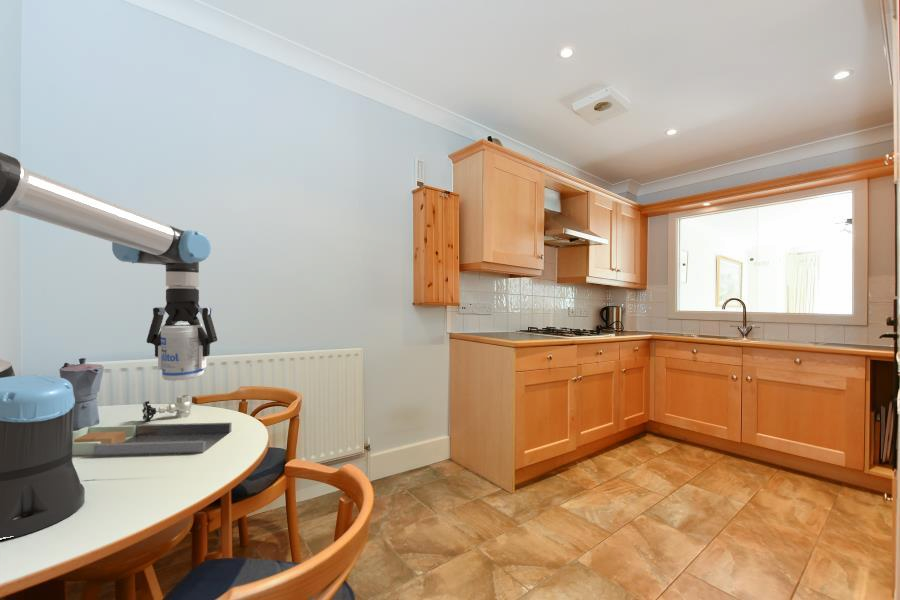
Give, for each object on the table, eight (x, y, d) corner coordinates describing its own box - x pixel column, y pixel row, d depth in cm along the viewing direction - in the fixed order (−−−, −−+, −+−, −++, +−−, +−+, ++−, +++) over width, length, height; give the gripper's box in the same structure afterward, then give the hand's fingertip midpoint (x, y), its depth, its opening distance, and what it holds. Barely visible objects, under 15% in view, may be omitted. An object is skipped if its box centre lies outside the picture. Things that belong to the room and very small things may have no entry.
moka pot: (79, 434, 104) (80, 361, 105) (36, 429, 108) (38, 359, 108) (116, 423, 114) (117, 356, 114) (75, 419, 117) (77, 354, 117)
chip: (92, 449, 94) (92, 438, 94) (74, 449, 93) (74, 439, 93) (107, 441, 99) (107, 431, 99) (90, 442, 98) (90, 432, 98)
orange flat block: (111, 448, 94) (111, 438, 94) (93, 449, 94) (93, 438, 94) (125, 441, 99) (125, 431, 99) (108, 441, 99) (108, 432, 99)
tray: (97, 455, 90) (97, 443, 90) (40, 457, 89) (41, 444, 89) (136, 436, 104) (136, 425, 104) (87, 437, 102) (87, 426, 102)
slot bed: (202, 454, 92) (202, 443, 92) (92, 458, 89) (92, 446, 89) (231, 432, 108) (232, 422, 108) (139, 434, 105) (139, 424, 105)
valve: (187, 413, 126) (141, 421, 117) (188, 393, 126) (142, 399, 117) (194, 417, 121) (147, 426, 112) (194, 396, 121) (147, 403, 112)
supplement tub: (153, 381, 101) (150, 327, 100) (179, 372, 111) (177, 322, 110) (188, 381, 101) (185, 326, 100) (212, 372, 110) (209, 322, 110)
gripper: (231, 288, 110) (231, 365, 111) (147, 287, 107) (147, 366, 108) (219, 288, 103) (219, 370, 103) (128, 287, 100) (129, 371, 100)
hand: (182, 368), depth 105 cm, fingers closed on supplement tub, 9 cm apart
